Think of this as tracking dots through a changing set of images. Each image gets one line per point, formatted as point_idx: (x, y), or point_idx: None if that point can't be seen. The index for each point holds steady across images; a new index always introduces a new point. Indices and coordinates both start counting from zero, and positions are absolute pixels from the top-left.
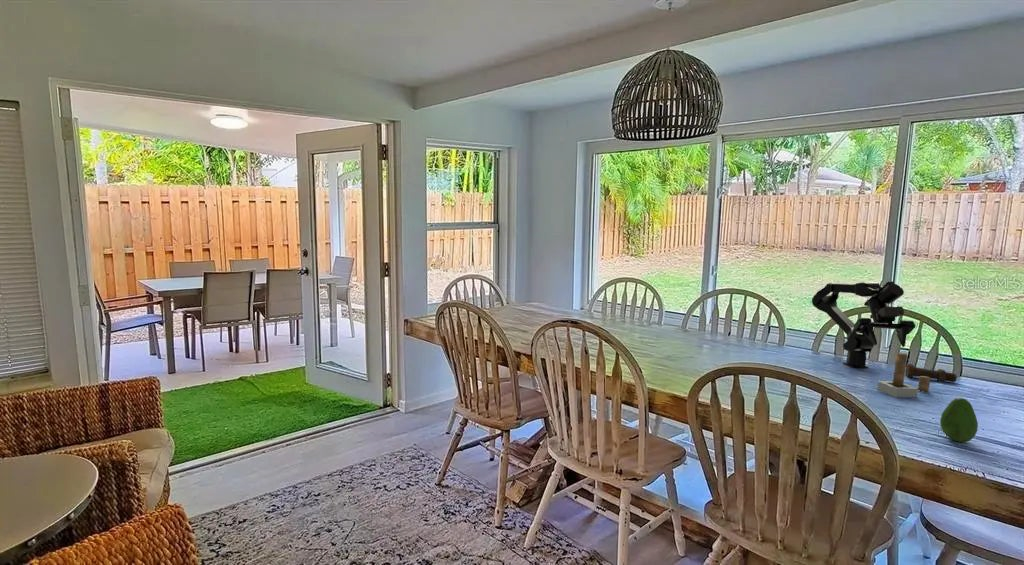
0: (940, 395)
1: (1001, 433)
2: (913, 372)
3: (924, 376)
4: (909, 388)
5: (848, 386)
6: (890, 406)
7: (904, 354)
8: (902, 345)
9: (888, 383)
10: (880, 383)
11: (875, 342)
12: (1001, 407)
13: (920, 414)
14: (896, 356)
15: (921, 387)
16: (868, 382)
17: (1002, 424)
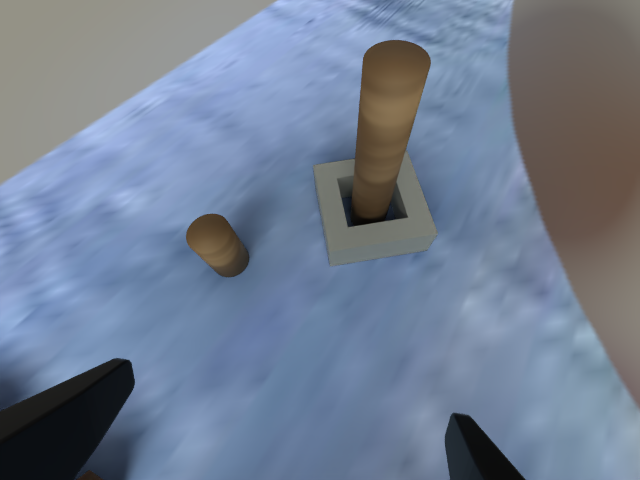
0: None
1: (287, 11)
2: (85, 474)
3: (200, 244)
4: (349, 162)
5: (544, 276)
6: (460, 103)
7: (384, 53)
8: (120, 394)
9: (397, 221)
10: (431, 224)
11: (479, 428)
12: (106, 139)
13: None
14: (423, 86)
15: (242, 244)
16: (419, 355)
17: (236, 45)
